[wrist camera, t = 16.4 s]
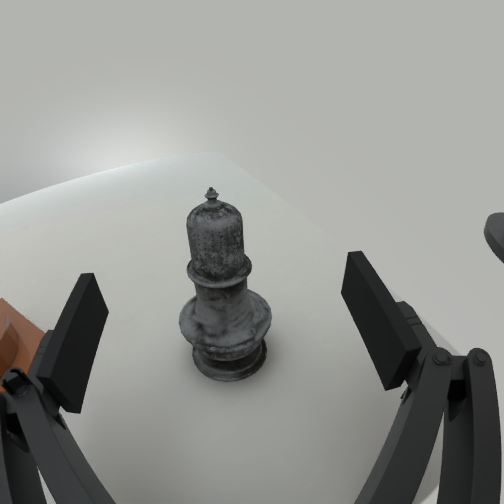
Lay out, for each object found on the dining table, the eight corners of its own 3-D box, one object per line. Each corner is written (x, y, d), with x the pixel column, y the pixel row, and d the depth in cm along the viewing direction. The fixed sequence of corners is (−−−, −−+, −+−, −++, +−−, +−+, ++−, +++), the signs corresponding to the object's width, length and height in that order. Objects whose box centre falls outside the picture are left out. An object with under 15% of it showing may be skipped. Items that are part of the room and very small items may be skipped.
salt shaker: (257, 394, 18) (251, 220, 11) (174, 371, 19) (126, 208, 13) (279, 330, 23) (284, 172, 16) (207, 315, 24) (186, 167, 18)
